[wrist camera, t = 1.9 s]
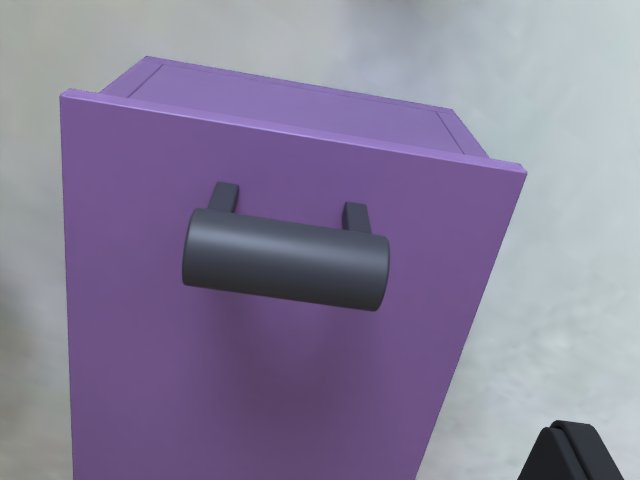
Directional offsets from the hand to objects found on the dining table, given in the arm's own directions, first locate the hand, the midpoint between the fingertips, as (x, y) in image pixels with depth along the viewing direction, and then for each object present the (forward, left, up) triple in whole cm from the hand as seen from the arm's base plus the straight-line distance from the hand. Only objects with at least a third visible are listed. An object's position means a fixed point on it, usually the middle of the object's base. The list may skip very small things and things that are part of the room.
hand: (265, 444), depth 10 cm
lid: (+6, -2, -10) cm, 12 cm away
